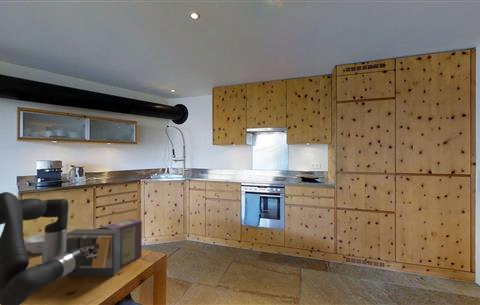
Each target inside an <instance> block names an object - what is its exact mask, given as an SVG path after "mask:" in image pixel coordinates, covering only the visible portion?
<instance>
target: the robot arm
mask: <svg viewBox="0 0 480 305" xmlns="http://www.w3.org/2000/svg"><path fill="white" fill-rule="evenodd" d="M68 217H69V201H68V199H67V198H54V199H53V198H52V199H44V200H42V199H41V198H34V197H33V198H30V197H29V198H24V199H23V198H22V199H19V198H18V197H17V195H15V194H13V193H11V192H7V191H4V192H1V193H0V225H4V226H3V229H2V232H1V234H0V305H21V304H23V303H24V302H25V301H26V300H27V299H28V298H29V297H30V296H31V295H32V294H34V293H33V292H34V291H35V290H36V289H37V288H39V287H43V288H44V287H46V286H50V284H52V283H54V282H56V281H57V280H59V279H61V278H64V277H66V275H67V274H69V273H70V272H72V271H74V270H75V269H77V268H79V267H80V266H81V265H82V263H83V262H84V261H85V260H87V259H89V258H90V257H94V258H97V249H99V244H94V245H92V246H88V247H86V248H85V247H81V248H77V249H71V250H68V251H67V252H66V239H67V233H68V219H69V218H68ZM40 218H57V219H56V221H55V222H51V223H48V224H47V225H45V226H44V234H45V236H44V246H43V247H42V253H41V263H44V264H42V265H39V266H36V265H35V266H31V267H29V264H30V259H29V255H28V252H27V251H28V250H26V247H25V239H24V221H32V220H37V219H40Z"/></svg>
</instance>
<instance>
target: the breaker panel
mask: <svg viewBox="0 0 480 305" xmlns="http://www.w3.org/2000/svg"><path fill="white" fill-rule="evenodd" d="M97 239H110V242H109V248H108V254H107V260H106V266H105V268H91V267H92V262H93V257H90V258H89V259H87V260H85V261H84V262H83V263H82V265H81V266H80V267H79V268H77V269H75V270H74V271H72V272H70V273H69V274H67V275H65V277H115V276H116V275H117V274H118V273H119V272H120V271H121V267H120V244H121V229H100V228H97V229H96V228H94V229H93V228H91V229H90V228H75V229H73V230H71V231H67V239H66V252H67V251H68V250H71V249H77V248H81V247H85V248H86V247H88V246H92V245H94V244H96V240H97Z"/></svg>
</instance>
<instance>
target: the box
mask: <svg viewBox="0 0 480 305" xmlns="http://www.w3.org/2000/svg"><path fill="white" fill-rule="evenodd" d="M142 224H143V221H142V220H138V219H133V218H129V219H125V220H122V221H118V222H114V223H111V224H107V225H104V226H102V229H121V244H120V268H121V267H123V266H125V265H128V264H130V263H132V262H133V261H136V260H138V259H140V258H142V250H143V249H142V241H143V240H142V239H143V238H142V234H143V232H142V231H143V227H142V226H143V225H142Z"/></svg>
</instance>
